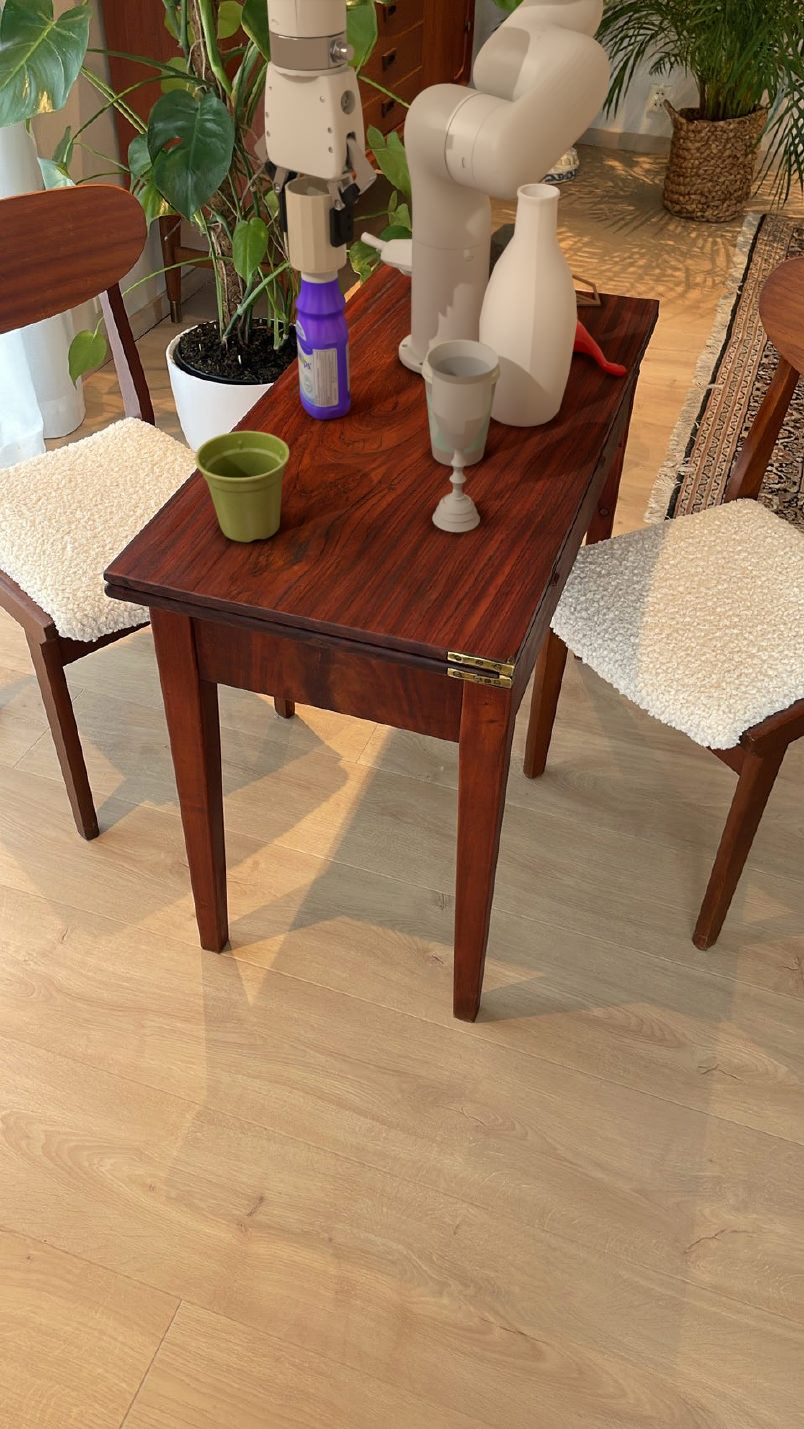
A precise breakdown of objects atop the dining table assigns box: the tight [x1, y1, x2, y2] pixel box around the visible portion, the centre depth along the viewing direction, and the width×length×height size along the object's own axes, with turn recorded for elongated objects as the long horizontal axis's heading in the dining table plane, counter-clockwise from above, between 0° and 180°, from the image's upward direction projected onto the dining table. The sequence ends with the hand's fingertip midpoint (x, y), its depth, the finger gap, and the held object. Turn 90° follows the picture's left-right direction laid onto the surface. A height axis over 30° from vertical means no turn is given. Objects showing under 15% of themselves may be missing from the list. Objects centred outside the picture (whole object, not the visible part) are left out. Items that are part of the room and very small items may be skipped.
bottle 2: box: [479, 183, 578, 428], centre depth 131 cm, size 11×11×25 cm
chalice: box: [427, 342, 498, 533], centre depth 116 cm, size 7×7×18 cm
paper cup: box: [285, 175, 348, 273], centre depth 125 cm, size 6×6×8 cm
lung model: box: [360, 231, 412, 278], centre depth 160 cm, size 7×17×25 cm
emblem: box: [572, 274, 602, 307], centre depth 164 cm, size 12×10×1 cm
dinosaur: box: [572, 313, 627, 377], centre depth 149 cm, size 4×15×12 cm
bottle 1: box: [295, 270, 352, 421], centre depth 134 cm, size 7×6×17 cm
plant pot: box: [194, 430, 290, 543], centre depth 118 cm, size 9×9×9 cm
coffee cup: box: [421, 340, 501, 467], centre depth 128 cm, size 8×8×12 cm
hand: (317, 234), depth 125 cm, fingers closed on paper cup, 6 cm apart
